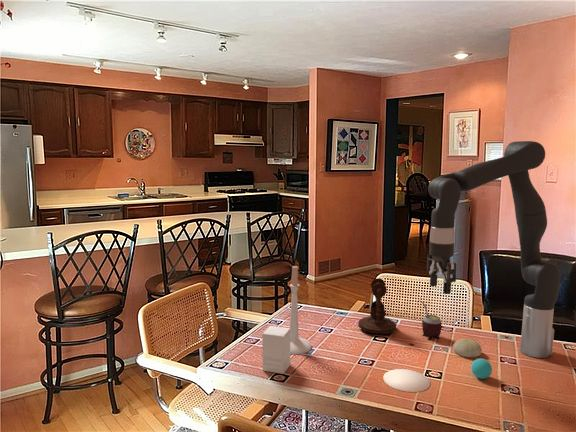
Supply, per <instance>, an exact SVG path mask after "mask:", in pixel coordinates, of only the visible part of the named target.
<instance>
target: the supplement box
mask: <svg viewBox="0 0 576 432" xmlns="http://www.w3.org/2000/svg"><path fill="white" fill-rule="evenodd" d="M290 366H291V354H290V327H282V326H275V325H269V326H268V327H267V328H266V329H265V331H263V332H262V371H264V372H269V373H276V374H282V375H284V374H285V372H286V371H287V370H288V368H289V367H290Z"/></svg>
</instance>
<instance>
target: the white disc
mask: <svg viewBox="0 0 576 432" xmlns="http://www.w3.org/2000/svg"><path fill="white" fill-rule="evenodd" d="M383 381H384V383H385V384H386V385H387V386H389V387H390V388H392V389H394V390H397V391H400V392H407V393H418V392H423V391H425V390H428V389H429V388H430V386H431V381H430V379H429V378H428V377H427V376H425V375H424V374H422V373H420V372H418V371H414V370H411V369H405V368H401V369H400V368H397V369H391V370H389V371H387V372H385V373H384V374H383Z"/></svg>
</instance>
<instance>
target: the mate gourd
mask: <svg viewBox="0 0 576 432" xmlns="http://www.w3.org/2000/svg"><path fill="white" fill-rule="evenodd" d="M419 302H420V303H421V304H422V305H423V307H424V310H425V313H426V315H425V316H424V317H422V320H421V321H422V322H421V328H422V329H421V330H422V336H423V337H426V338H427V340H428V341H431V339H435V340H440V336H441V333H442V332H441V331H442V326H443V324H442V320H441V318H440V317H439V316H437V315H434V314H429V313H428V310H427V305H426V304H425V303H424V302H423V301H421V300H419Z"/></svg>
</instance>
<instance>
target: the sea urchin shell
mask: <svg viewBox="0 0 576 432" xmlns="http://www.w3.org/2000/svg"><path fill="white" fill-rule="evenodd" d="M452 348H453V351H454V352H455V353H456V354H458V355H459V356H462V357H463V358H478V357H480V356H481V355H482V353H483V349H482V346H481V345H480V343H478V341H476V340H473V339H470V338H460V339H458V340H456V341H455V342H454V343H453V345H452Z"/></svg>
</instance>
